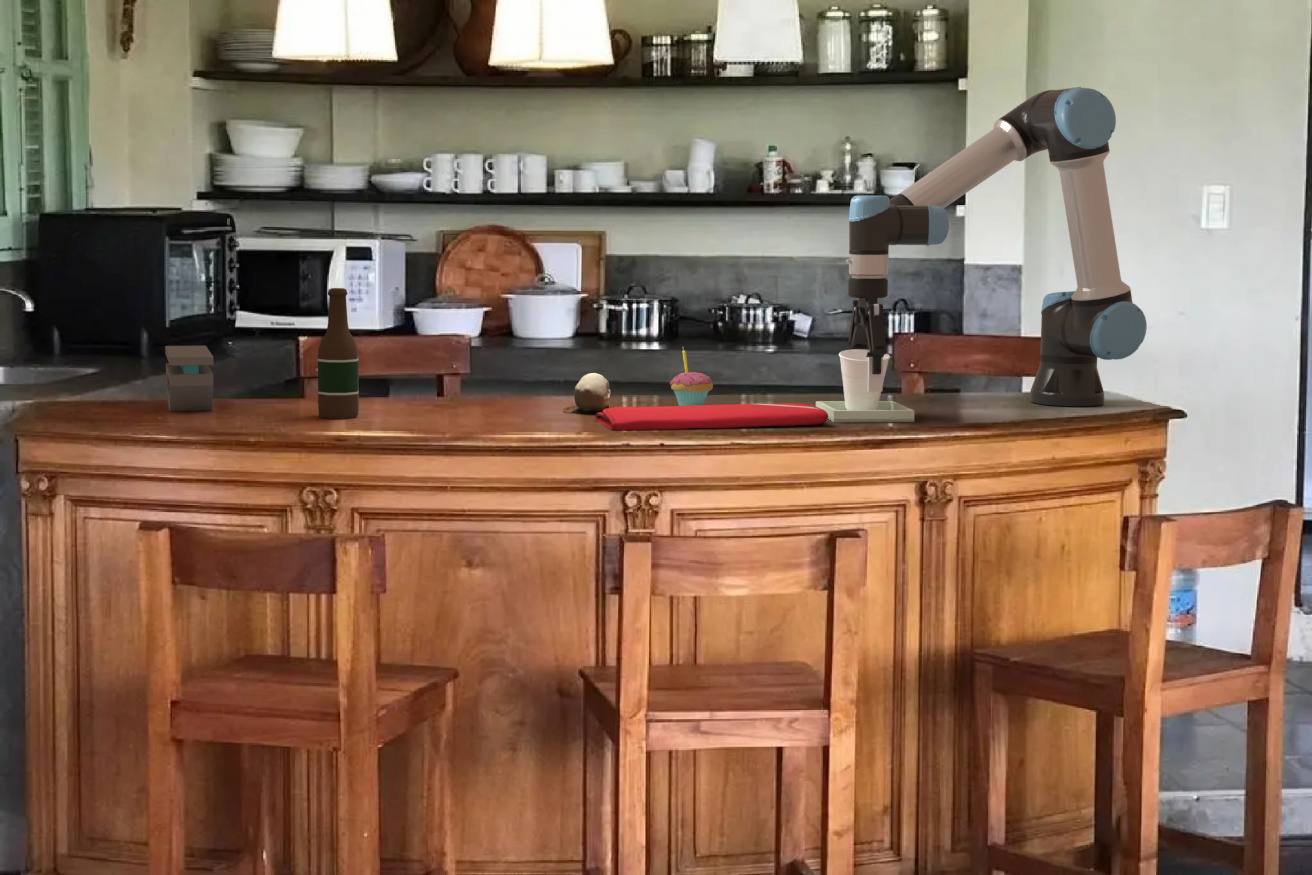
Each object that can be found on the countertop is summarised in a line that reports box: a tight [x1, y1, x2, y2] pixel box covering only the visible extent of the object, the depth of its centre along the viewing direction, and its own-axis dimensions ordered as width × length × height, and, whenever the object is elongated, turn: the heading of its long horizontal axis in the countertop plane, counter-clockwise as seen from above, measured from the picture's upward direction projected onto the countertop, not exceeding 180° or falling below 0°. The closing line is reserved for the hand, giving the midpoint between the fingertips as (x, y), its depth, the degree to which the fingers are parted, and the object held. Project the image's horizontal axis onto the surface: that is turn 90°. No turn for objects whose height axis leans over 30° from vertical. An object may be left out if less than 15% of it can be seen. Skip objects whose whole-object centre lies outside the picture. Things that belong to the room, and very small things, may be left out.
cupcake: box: [669, 346, 714, 406], centre depth 371 cm, size 9×8×12 cm
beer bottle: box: [317, 287, 360, 420], centre depth 347 cm, size 8×8×24 cm
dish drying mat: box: [595, 402, 828, 431], centre depth 346 cm, size 16×41×4 cm, turn 103°
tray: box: [815, 400, 915, 423], centre depth 359 cm, size 16×16×2 cm
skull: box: [562, 372, 621, 416], centre depth 362 cm, size 12×10×10 cm
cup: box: [838, 349, 891, 410], centre depth 360 cm, size 10×10×11 cm
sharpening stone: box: [164, 345, 214, 412], centre depth 360 cm, size 25×8×11 cm, turn 17°
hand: (866, 387), depth 358 cm, fingers open, 13 cm apart
